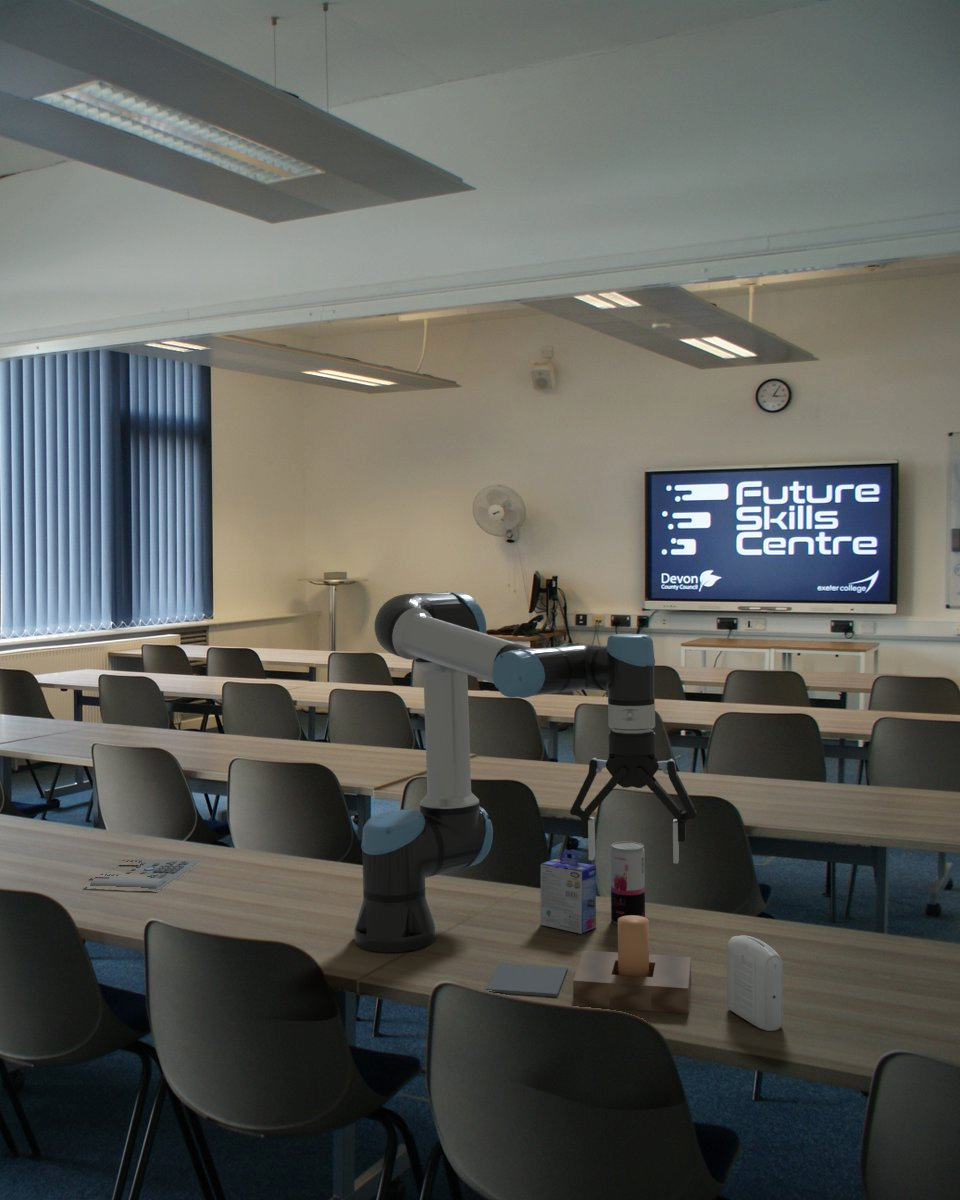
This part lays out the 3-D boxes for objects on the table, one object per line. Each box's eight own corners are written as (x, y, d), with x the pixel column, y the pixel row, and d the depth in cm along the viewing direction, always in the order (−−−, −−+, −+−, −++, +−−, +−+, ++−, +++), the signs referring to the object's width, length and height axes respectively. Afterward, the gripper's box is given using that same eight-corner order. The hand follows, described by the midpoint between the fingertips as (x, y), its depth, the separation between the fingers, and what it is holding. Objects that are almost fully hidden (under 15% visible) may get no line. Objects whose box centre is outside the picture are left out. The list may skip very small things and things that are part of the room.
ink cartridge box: (598, 927, 217) (597, 853, 217) (582, 935, 213) (582, 859, 212) (555, 918, 223) (554, 845, 223) (539, 925, 219) (538, 851, 218)
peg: (617, 997, 183) (616, 924, 182) (619, 986, 188) (619, 914, 187) (648, 999, 182) (647, 926, 181) (650, 988, 187) (649, 916, 186)
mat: (485, 991, 186) (485, 988, 186) (499, 965, 198) (499, 963, 198) (557, 996, 183) (557, 993, 183) (567, 970, 195) (567, 967, 195)
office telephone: (159, 884, 244) (72, 881, 247) (159, 896, 244) (72, 893, 247) (200, 854, 267) (121, 852, 270) (201, 865, 267) (121, 863, 270)
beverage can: (622, 928, 216) (621, 851, 216) (605, 919, 222) (604, 843, 222) (651, 924, 219) (650, 847, 218) (633, 914, 225) (633, 839, 224)
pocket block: (573, 1005, 180) (573, 980, 180) (584, 973, 193) (584, 950, 193) (688, 1013, 176) (688, 988, 176) (691, 980, 190) (691, 957, 189)
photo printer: (787, 1028, 170) (787, 947, 170) (764, 1033, 168) (764, 951, 168) (745, 1004, 179) (744, 927, 179) (722, 1009, 178) (722, 931, 177)
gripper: (552, 732, 182) (554, 862, 183) (710, 734, 177) (711, 868, 177) (558, 725, 189) (560, 851, 190) (710, 727, 184) (712, 856, 185)
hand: (633, 859), depth 184 cm, fingers open, 13 cm apart
